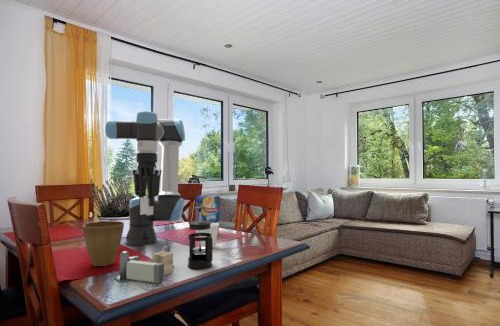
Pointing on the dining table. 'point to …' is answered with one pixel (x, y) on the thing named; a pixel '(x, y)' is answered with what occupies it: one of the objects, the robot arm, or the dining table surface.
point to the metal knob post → (124, 265)
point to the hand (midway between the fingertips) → (146, 214)
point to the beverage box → (208, 209)
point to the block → (164, 260)
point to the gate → (145, 271)
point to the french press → (200, 259)
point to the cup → (212, 231)
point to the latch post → (167, 249)
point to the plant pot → (103, 241)
